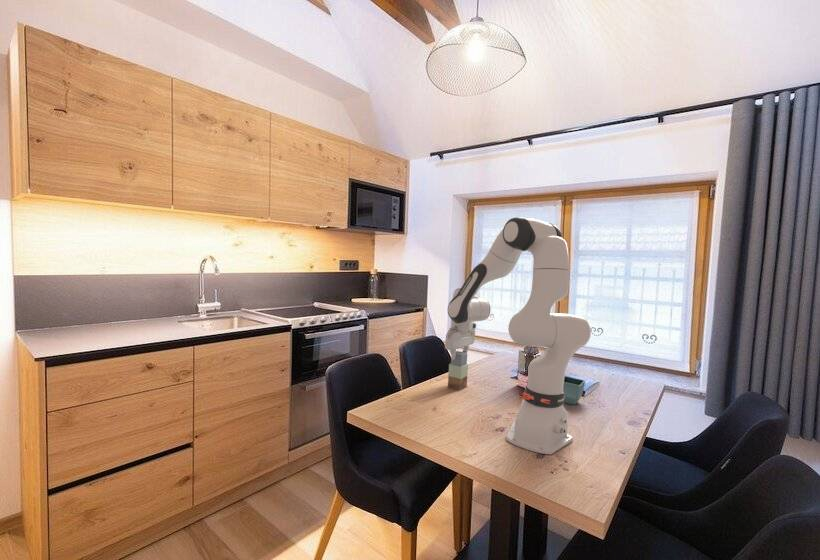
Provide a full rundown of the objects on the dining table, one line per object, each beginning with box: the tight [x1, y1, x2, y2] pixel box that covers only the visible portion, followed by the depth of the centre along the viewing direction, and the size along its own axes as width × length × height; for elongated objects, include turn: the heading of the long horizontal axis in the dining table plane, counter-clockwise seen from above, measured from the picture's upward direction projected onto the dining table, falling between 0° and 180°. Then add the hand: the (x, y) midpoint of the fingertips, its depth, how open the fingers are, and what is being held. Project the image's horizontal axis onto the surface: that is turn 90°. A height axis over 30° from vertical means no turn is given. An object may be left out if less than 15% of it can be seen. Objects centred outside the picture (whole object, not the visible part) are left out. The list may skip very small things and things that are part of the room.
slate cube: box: [450, 350, 468, 367], centre depth 163 cm, size 5×5×5 cm
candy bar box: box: [516, 349, 543, 377], centre depth 166 cm, size 11×5×16 cm, turn 23°
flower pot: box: [563, 375, 586, 406], centre depth 152 cm, size 9×9×9 cm
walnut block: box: [447, 375, 468, 391], centre depth 163 cm, size 6×6×5 cm
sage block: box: [448, 363, 469, 379], centre depth 163 cm, size 6×6×5 cm
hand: (459, 357), depth 163 cm, fingers open, 8 cm apart
